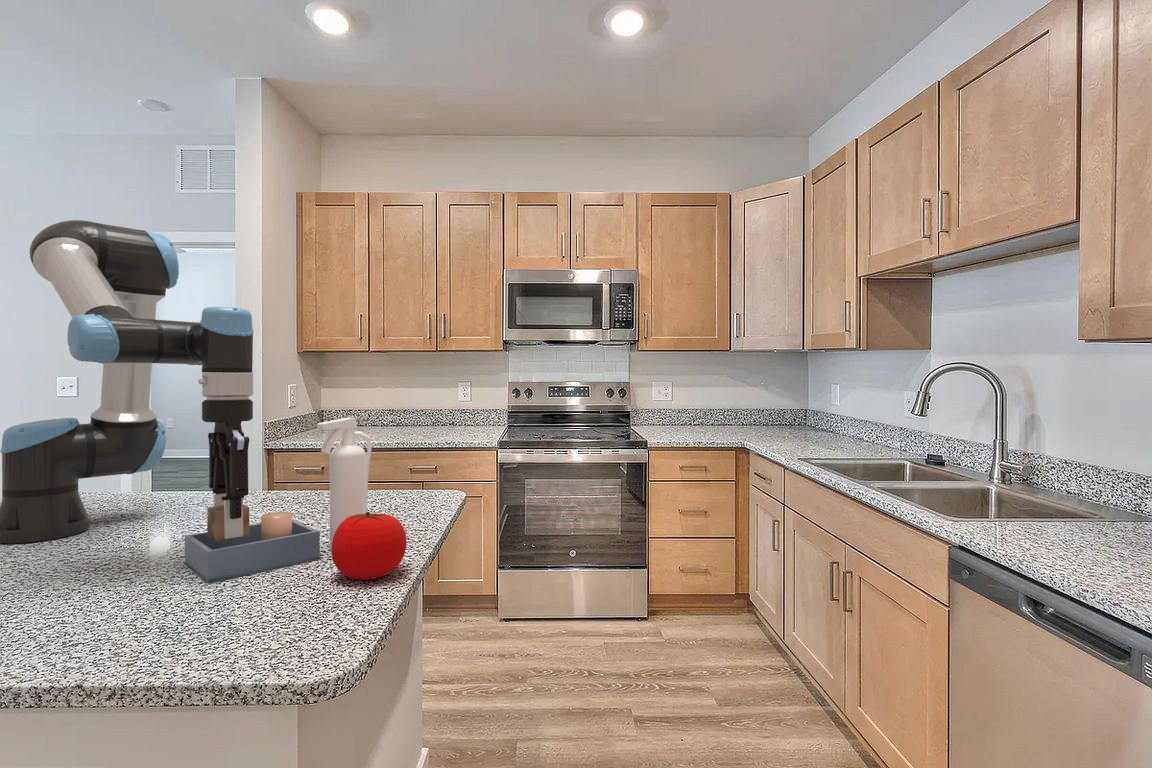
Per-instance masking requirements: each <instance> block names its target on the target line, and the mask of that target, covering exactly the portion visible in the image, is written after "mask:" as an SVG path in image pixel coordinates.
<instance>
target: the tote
mask: <svg viewBox="0 0 1152 768" xmlns="http://www.w3.org/2000/svg"><path fill="white" fill-rule="evenodd" d="M320 536H321V532H320V531H319V530H318V529H315V528H313V527H311V526H308V525H306V524H304V523H301V522H299V521H297V520H294V519H292V535H291V536H285V537H280V538H274V539H269V540H263V541H261V522H259V523H253V524H249V536H248V537H243V538H237V539H231V540H225V541H220V542H216V541H214V540H212V539H211V538H209V537H207V531H205V532H200V533H198V532H197V533H193V534H186V535H184V565H185V566H186V567H187V568H189V569H190V570H191V571H192V572H194V573H195V574H196V575H197V576H198V577H200V578H201V580H203V581H204V582H206V584H211V583H212V584H213V583H217V582H220V581H226V580H230V579H234V578H240V577H244V576H249V575H253V574H254V575H255V574H257V573H261V572H262V573H263V572H267V571H273V570H276V569H280V568H281V569H282V568H285V567H290V566H294V565H295V566H296V565H298V564H304V563H308V562H309V563H310V562H312V561H317V560H320V559H321V557H320V555H321V553H320V552H321V551H320V550H321V549H320V548H321V545H320V544H321V541H320V540H321V539H320Z"/></svg>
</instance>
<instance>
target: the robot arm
mask: <svg viewBox="0 0 1152 768" xmlns="http://www.w3.org/2000/svg"><path fill="white" fill-rule="evenodd" d="M29 258H30V262H31V264H32V266H33V267H34V269H35V271H36V273H38V275H40V277H42V278H43V279H45V280H46V281H48V282H50V283H51V284H52V286H53V288H54V290H55V291H56V293H57V294H58V297H59V298H60V299H61V302H62V304H63V305H64V307H65V308H66V310H67V312H68V313H69V315H70V317H71V320H70V321H69V323H68V327H67V346H69V354H70V355H71V357H73V358H74V360H77V361H80V362H88V363H98V364H103V366H102V376H101V391H100V392H101V394H100V407H99V408H97V409H95V410H94V411H93V412H92V413H91V414H90V423H80V421H79V420H78V419H77V417H64V418H54V419H52V418H51V419H44V420H37V421H31V422H24V423H19V424H14V425H11V426H9V427H8V428H6V429H5V430H4V431H3V433H2V439H1V449H0V453H1V503H0V544H23V543H35V542H43V541H44V542H45V541H50V540H56V539H62V538H66V537H69V536H75V535H77V534H80V533H83V532H86V531H88V530H89V529H90V517H89V515H88V512H87V510H86V508H85V505H84V503H83V500H82V498H81V496H80V493H79V481H80V480H81V479H90V478H91V479H92V478H100V477H107V476H115V475H117V476H118V475H133V474H136V473H141V472H148V471H151V470H153V469H154V468H156V467H157V465H158V464H159V463H160V461H161V460H162V458H163V455H164V453H165V448H166V443H167V436H166V428H165V425H164V424H163V422H161V420H158V419H157V414H156V413H155V412H154V411H153V410H151V409H150V399H151V398H150V397H151V395H150V394H151V383H152V368H153V364H163V365H164V364H168V365H169V364H170V365H173V364H174V365H175V364H176V365H188V366H201V374H202V375H201V377H202V378H199V379H198V381H197V383H198V384H199V385H202V387H201V389H202V393H201V394H202V395H201V396H203V397H205V398H206V399H204V400H203V401H202V402H201V420H202V421H203V422H205V423H214V428H213V429H214V430H213V431H214V432H208V434H207V438H208V445H209V447H208V448H209V449H208V450H209V454H208V456H209V458H208V462H209V463H208V464H209V466H208V467H209V469H208V470H209V473H208V474H209V477H208V478H209V479H208V482H209V483H208V487H209V489H212V490H211V491H212V494H213V507H215V506H223V505H224V539H229V538H235V537H241V536H243V505H244V498H245V497H246V496H248V495H249V445H250V438H249V436H245V433H244V431H243V429H242V428H243V427H242V422H249V421H252V420H253V418H254V403H253V402H254V401H252V399H250V397H252V396H253V395H254V373H253V362H254V361H253V359H254V358H253V355H254V354H253V353H254V352H253V349H254V347H253V345H254V331H255V330H254V328H253V316H252V313H251V312H250V311H249V310H248V309H246V308H241V307H231V306H207V307H205V308H203V309H202V312H201V319H200V322H197V321H196V322H195V321H184V320H183V321H180V320H179V321H178V320H169V319H168V320H166V319H165V320H164V319H156V315H157V314H156V312H157V305H158V303H159V301H162V299H164V298H165V297H166V294H167V293H166V292H167V290H169V289H173V288H174V287H176V285H177V283H178V280H179V275H180V271H179V270H180V269H179V268H180V266H179V259H178V254H177V251H176V249H175V246H174V244H173V243H172V241H171V240H170V239H169V238H168V237H167V236H166V235H164V234H162V233H156V232H152V231H147V230H145V229H135V228H129V227H125V226H124V227H123V226H117V225H112V224H106V223H100V222H99V223H98V222H93V221H89V220H81V219H75V220H74V219H73V220H63V221H59V222H57V223H54V224H51V225H49V226H47V227H45V228H44V229H42V230H41V231H40V232H38V233H37V234H36V236H34V238H33V240H32V241H31V244H30V247H29Z"/></svg>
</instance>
